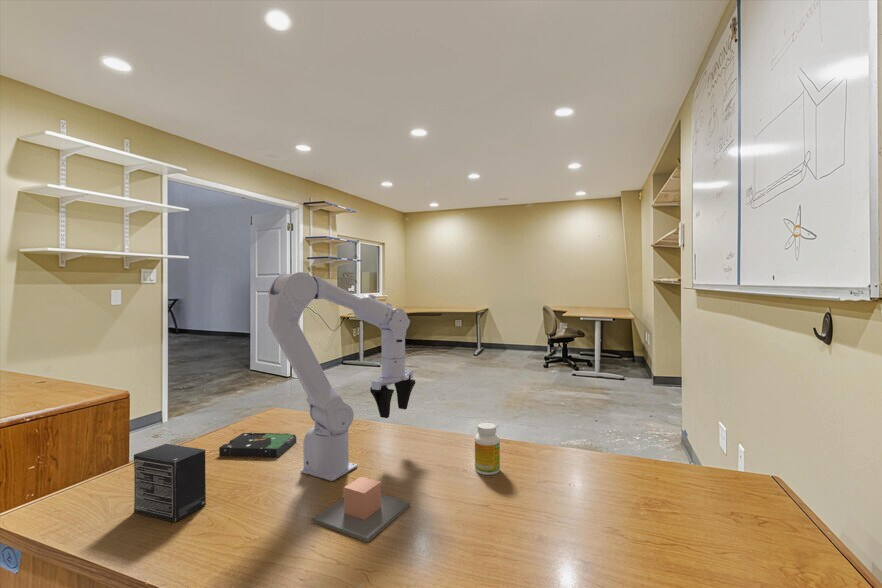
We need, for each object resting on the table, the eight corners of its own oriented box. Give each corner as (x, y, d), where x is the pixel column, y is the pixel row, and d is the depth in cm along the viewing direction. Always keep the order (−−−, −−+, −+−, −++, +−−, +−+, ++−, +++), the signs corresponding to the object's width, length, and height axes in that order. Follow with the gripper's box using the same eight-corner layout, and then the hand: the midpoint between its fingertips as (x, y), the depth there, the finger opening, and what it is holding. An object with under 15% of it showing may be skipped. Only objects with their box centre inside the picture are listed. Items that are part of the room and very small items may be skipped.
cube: (344, 513, 69) (344, 487, 69) (361, 500, 73) (361, 476, 73) (364, 520, 67) (364, 493, 67) (380, 507, 71) (380, 482, 71)
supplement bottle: (499, 476, 83) (498, 430, 83) (473, 474, 85) (473, 429, 84) (500, 465, 89) (500, 422, 89) (476, 463, 90) (476, 420, 90)
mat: (312, 521, 68) (312, 518, 68) (358, 490, 78) (358, 487, 78) (367, 542, 62) (367, 538, 62) (410, 505, 72) (410, 502, 72)
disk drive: (218, 459, 95) (278, 459, 94) (218, 447, 95) (278, 448, 94) (242, 442, 105) (297, 443, 104) (242, 432, 105) (297, 432, 104)
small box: (209, 504, 74) (208, 447, 74) (175, 524, 68) (174, 462, 67) (167, 495, 77) (167, 441, 77) (132, 513, 71) (131, 454, 71)
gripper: (389, 363, 89) (389, 424, 89) (422, 354, 102) (423, 407, 102) (364, 361, 92) (364, 419, 92) (400, 352, 105) (400, 403, 105)
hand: (393, 412), depth 97 cm, fingers open, 7 cm apart
